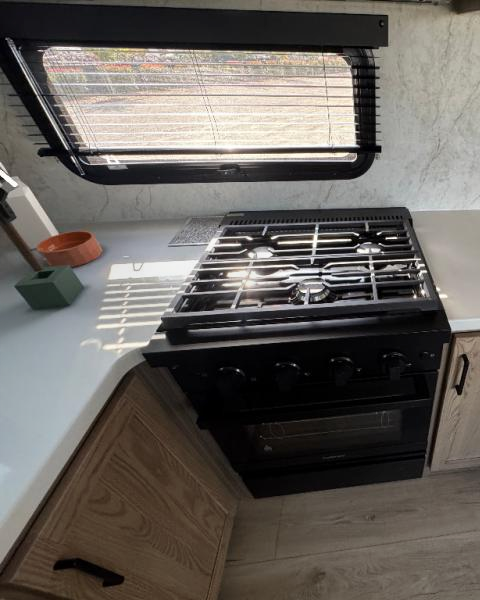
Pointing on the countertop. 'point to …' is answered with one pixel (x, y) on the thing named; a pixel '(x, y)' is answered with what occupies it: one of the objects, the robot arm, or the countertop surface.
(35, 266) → the stick
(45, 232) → the milk carton
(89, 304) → the countertop surface
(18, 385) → the countertop surface
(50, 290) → the holder
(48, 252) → the bowl
